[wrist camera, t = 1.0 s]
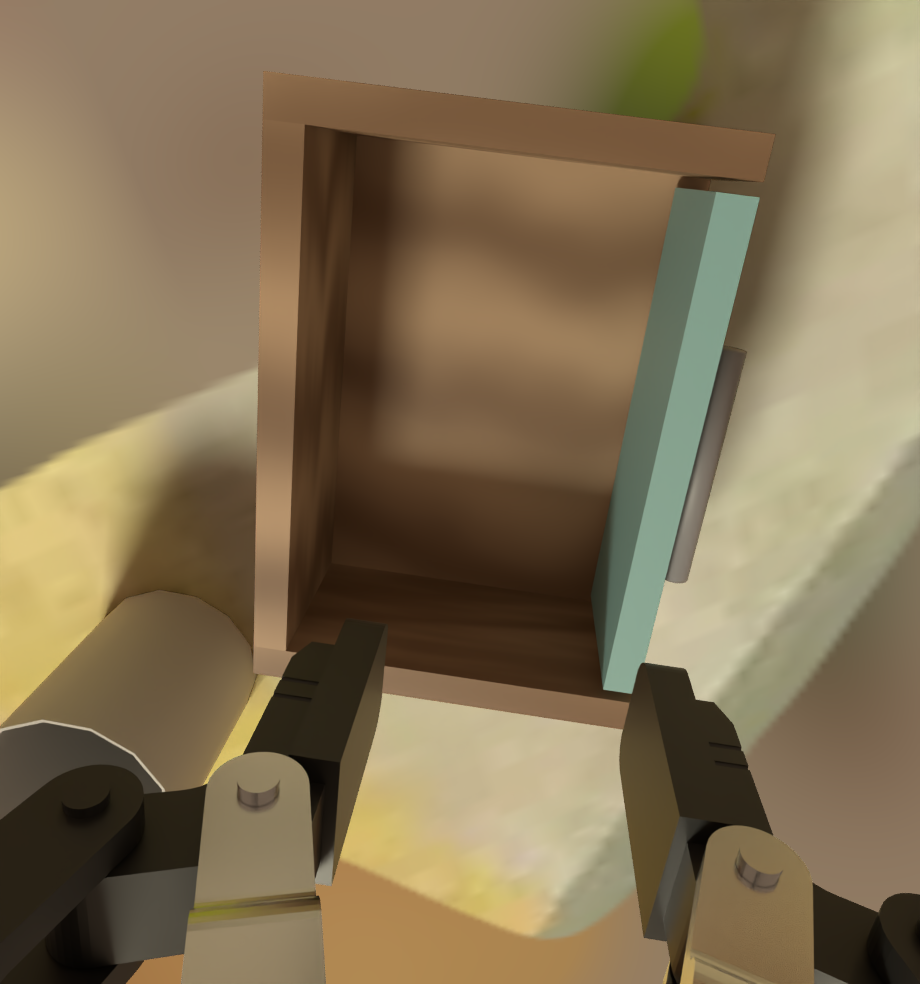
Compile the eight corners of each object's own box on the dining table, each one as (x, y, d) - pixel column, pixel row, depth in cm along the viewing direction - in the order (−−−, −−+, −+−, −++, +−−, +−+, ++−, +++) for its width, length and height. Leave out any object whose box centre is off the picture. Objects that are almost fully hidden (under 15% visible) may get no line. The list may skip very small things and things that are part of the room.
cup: (218, 575, 38) (118, 703, 29) (280, 710, 41) (206, 866, 32) (69, 611, 40) (-70, 743, 31) (139, 739, 43) (29, 895, 33)
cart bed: (338, 99, 30) (263, 71, 22) (707, 144, 29) (775, 134, 21) (315, 562, 38) (253, 673, 29) (606, 605, 37) (627, 730, 29)
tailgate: (675, 187, 28) (716, 192, 22) (737, 195, 28) (796, 202, 22) (590, 594, 34) (603, 689, 28) (640, 602, 34) (664, 698, 28)
